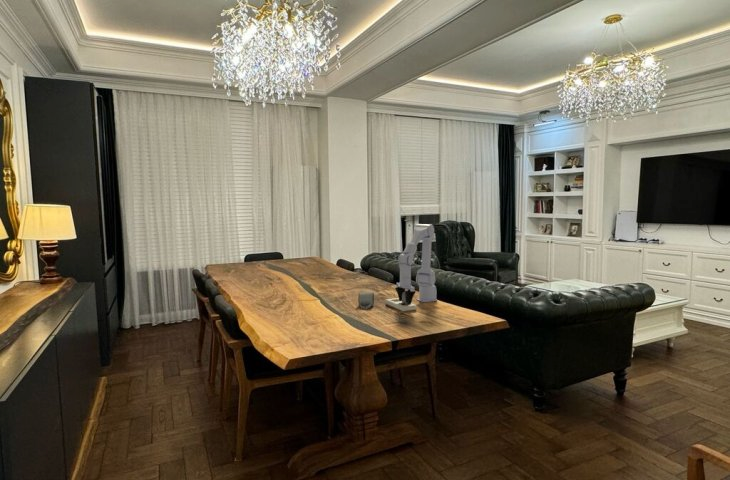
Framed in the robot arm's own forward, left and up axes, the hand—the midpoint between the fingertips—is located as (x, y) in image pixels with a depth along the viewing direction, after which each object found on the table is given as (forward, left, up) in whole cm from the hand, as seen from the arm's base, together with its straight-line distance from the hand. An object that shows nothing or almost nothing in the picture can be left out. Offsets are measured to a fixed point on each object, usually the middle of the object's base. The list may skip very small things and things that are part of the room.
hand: (405, 302), depth 222 cm
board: (0, -4, -4) cm, 6 cm away
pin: (0, 0, -3) cm, 3 cm away
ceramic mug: (+15, -15, -4) cm, 22 cm away
